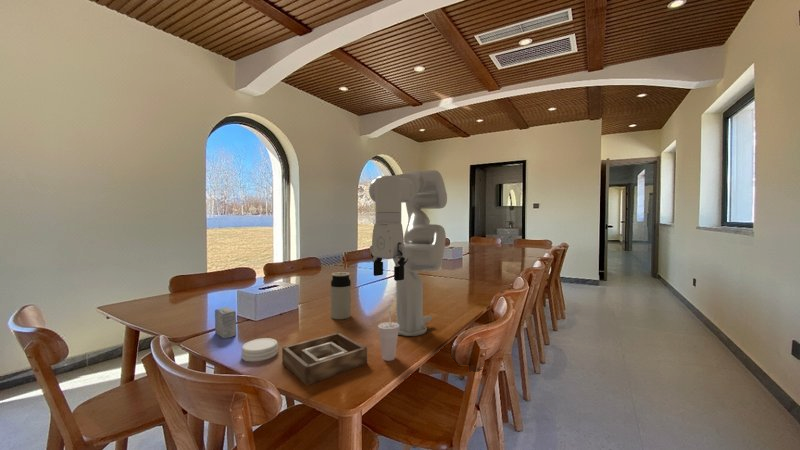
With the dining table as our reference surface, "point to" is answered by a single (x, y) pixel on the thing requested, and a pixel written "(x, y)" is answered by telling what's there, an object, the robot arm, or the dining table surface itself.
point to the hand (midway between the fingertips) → (388, 277)
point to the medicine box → (225, 322)
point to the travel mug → (340, 295)
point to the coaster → (259, 349)
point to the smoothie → (388, 338)
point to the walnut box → (323, 357)
